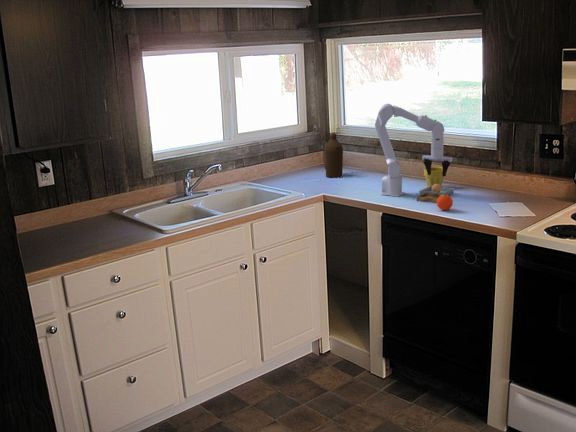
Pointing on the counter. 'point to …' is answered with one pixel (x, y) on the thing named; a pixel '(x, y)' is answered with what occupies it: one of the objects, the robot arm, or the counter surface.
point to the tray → (428, 197)
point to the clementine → (444, 202)
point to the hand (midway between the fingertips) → (436, 175)
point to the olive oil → (333, 157)
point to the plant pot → (434, 176)
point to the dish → (443, 192)
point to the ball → (436, 188)
